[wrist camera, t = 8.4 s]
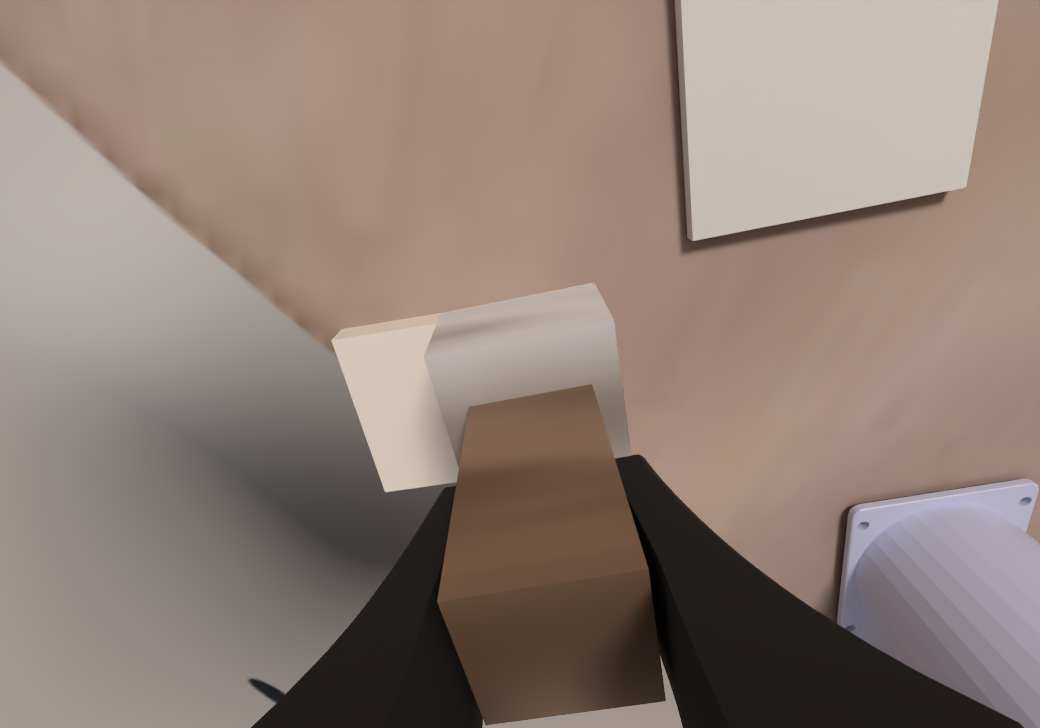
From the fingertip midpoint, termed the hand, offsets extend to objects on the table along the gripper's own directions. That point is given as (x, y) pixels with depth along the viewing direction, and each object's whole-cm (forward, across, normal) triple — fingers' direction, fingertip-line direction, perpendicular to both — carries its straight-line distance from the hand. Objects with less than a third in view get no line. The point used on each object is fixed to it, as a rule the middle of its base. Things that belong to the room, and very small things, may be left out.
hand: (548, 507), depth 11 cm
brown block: (+5, 0, 0) cm, 5 cm away
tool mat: (+9, -11, -7) cm, 16 cm away
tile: (+9, -1, +2) cm, 9 cm away
